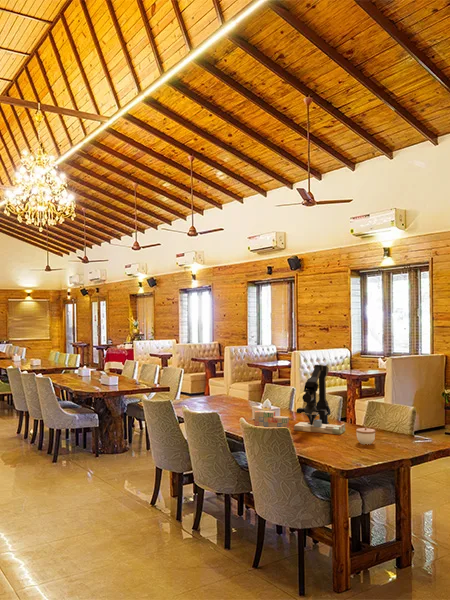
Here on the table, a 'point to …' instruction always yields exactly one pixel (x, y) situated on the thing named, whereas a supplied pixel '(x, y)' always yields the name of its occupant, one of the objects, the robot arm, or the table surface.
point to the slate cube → (317, 423)
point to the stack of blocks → (270, 419)
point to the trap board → (320, 428)
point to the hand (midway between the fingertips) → (311, 425)
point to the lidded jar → (365, 435)
